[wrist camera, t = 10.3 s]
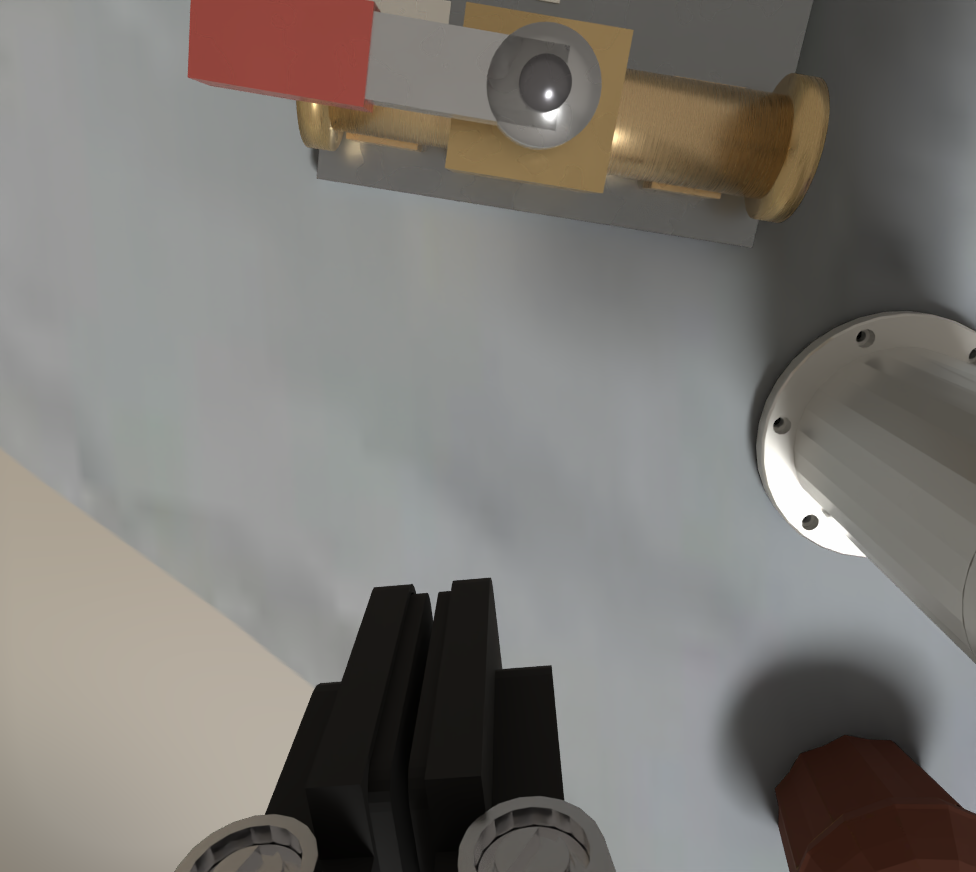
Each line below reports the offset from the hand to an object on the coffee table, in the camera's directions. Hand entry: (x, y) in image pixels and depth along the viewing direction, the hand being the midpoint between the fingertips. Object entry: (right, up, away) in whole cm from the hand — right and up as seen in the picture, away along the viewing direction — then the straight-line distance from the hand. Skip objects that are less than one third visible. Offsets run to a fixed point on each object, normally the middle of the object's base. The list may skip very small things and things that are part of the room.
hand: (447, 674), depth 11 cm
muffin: (+22, -18, +35) cm, 45 cm away
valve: (+4, +20, +23) cm, 31 cm away
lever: (-2, +16, +15) cm, 22 cm away
